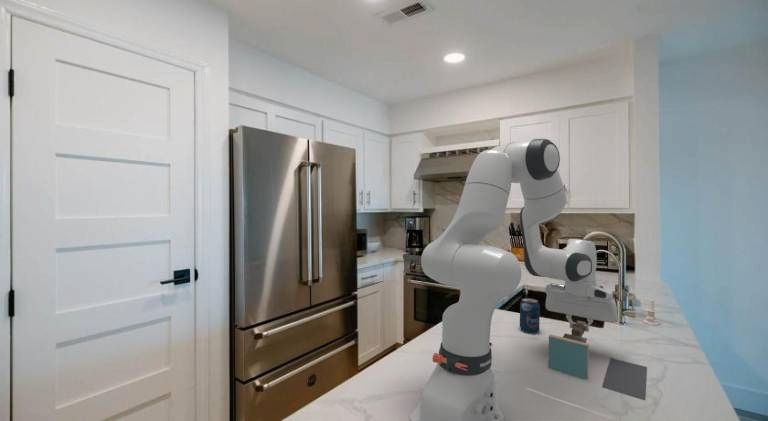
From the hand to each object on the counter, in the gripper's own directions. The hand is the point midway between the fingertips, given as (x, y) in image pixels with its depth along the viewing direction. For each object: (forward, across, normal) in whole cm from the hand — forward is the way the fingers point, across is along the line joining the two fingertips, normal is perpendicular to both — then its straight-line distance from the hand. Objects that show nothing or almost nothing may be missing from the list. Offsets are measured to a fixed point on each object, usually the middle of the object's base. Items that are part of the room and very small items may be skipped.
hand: (579, 329), depth 108 cm
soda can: (+8, -18, +9) cm, 22 cm away
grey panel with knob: (+1, 0, -4) cm, 4 cm away
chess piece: (+8, +18, +52) cm, 56 cm away
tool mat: (+8, +13, -10) cm, 18 cm away
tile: (+8, 0, -18) cm, 20 cm away
